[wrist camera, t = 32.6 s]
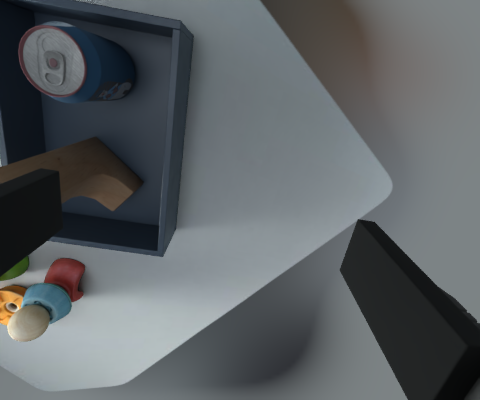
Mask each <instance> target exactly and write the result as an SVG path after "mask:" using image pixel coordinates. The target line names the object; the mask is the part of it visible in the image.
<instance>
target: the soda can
mask: <svg viewBox="0 0 480 400" xmlns="http://www.w3.org/2000/svg"><path fill="white" fill-rule="evenodd" d="M18 54H19V61H20V65H21V68H22V70H23V72H24V74H25V76H26V77H27V79H28V80H29V81H30V83H31V84H32V85H33V86H34V87H36V88H37V89H38V90H39V91H41V92H43V93H45V94H47V95H48V96H50V97H52V98H53V99H55V100H58V101H60V102H64V103H86V102H100V101H113V100H118V99H121V98H123V97H124V96H126V95H127V94H128V93H129V91H130V90H131V88H132V86H133V84H134V79H135V71H134V66H133V63H132V60H131V58H130V56H129V55H128V53H127V52H126V51H125V50H124V48H122V47H121V46H120V45H119V44H117V43H116V42H114V41H112V40H109V39H106V38H104V37H101V36H99V35H96V34H93V33H91V32H88V31H86V30H83V29H80V28H78V27H75V26H73V25H70V24H67V23H64V22H57V21H53V22H47V23H44V24H41V25H39V26H35V27H33V28H31V29H29V30H28V31H27V32H26V33H25V34H24V35H23V37H22V38H21V41H20V43H19V50H18Z"/></svg>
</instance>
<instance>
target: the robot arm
mask: <svg viewBox="0 0 480 400" xmlns="http://www.w3.org/2000/svg"><path fill="white" fill-rule="evenodd" d="M62 229H63V216H62V202H61V189H60V175H59V171H56V170H50V169H43V168H40V169H37V170H35V171H32V172H29V173H27V174H24V175H22V176H19V177H17V178H14V179H11V180H9V181H6V182H4V183H1V184H0V277H1V276H2V275H3V274H5V273H6V272H7V271H9V270H10V269H11V268H12V267H14V266H15V265H16V264H18V263H19V262H20V261H22V260H23V259H24V258H25V257H27V256H28V255H29V254H31V253H32V252H33V251H34V250H36V249H37V248H38V247H40V246H41V245H42V244H44V243H45V242H46V241H47V240H49V239H50V238H51V237H53V236H54V235H55V234H56V233H58V232H59V231H60V230H62ZM340 272H341V274H342V275H343V277H344V279H345V281H346V283H347V285H348V287H349V289H350V291H351V292H352V294H353V296H354V298H355V300H356V302H357V304H358V305H359V307H360V309H361V312H362V313H363V315H364V317H365V319H366V321H367V323H368V325H369V327H370V329H371V330H372V332H373V334H374V336H375V338H376V340H377V342H378V344H379V346H380V348H381V350H382V351H383V353H384V355H385V357H386V359H387V361H388V363H389V364H390V366H391V368H392V370H393V372H394V374H395V376H396V378H397V380H398V382H399V383H400V385H401V387H402V389H403V391H404V393H405V395H406V396H407V399H408V400H480V323H477V320H476V319H475V318H474V317H473V316H472V315H471V314H470V313H467V310H466V309H465V308H464V307H463V306H462V305H461V304H460V303H459V302H458V301H457V300H456V299H455V298H453V297H452V296H451V295H449V294H448V293H446V292H445V291H443V290H442V289H441V288H439V287H437V285H436V284H435V283H434V282H433V281H432V280H431V279H430V278H429V277H428V276H427V275H426V274H425V273H424V272H423V271H422V270H421V269H420V268H419V267H418V266H417V265H416V264H415V263H414V262H413V261H412V260H411V259H410V258H409V257H408V256H407V255H406V254H405V253H404V252H403V251H402V250H401V249H400V248H399V247H398V246H397V245H396V244H395V242H394V241H393V240H391V238H390V237H389V236H388V235H387V234H386V233H385V232H384V231H383V230H382V229H381V228H380V227H379V226H378V225H377V224H376V223H375V222H372V221H365V220H359V219H358V221H357V223H356V226H355V229H354V232H353V234H352V237H351V240H350V243H349V246H348V249H347V251H346V254H345V257H344V259H343V263H342V265H341V268H340Z"/></svg>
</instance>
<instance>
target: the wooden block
mask: <svg viewBox="0 0 480 400" xmlns="http://www.w3.org/2000/svg"><path fill="white" fill-rule="evenodd" d="M40 168H43V169H50V170H56V171H59V175H60V189H61V202H62V203H64V202H66V201H67V200H69V199H70V198H72V197H77V196H85V197H89V198H93V199H96V200H97V201H99V202H100V203H101V204H103V205H104V206H105V207H107V208H108V209H110V210H111V211H114V210H116V209H117V208H118V207H119V206H121V205H122V204H123V203H124V202H125V201H126V200H127V199H128V198H129V197H130V196H131V195H132V194H133V193H134V192H135V191H136V190H138V189H139V188H140V187H141V186H142V185H143V181H142V180H141V179H140V178H139V177H138V176H137V175H136V174H135V173H134V172H133V171H132V170H131V169H130V168H128V167H127V166H126V165H125V164H124V163H123V162H122V161H121V160H120V159H119V158H118V157H117V156H116V155H115V154H114V153H113V152H112V151H111V150H110V149H109V148H107V147H106V146H105V145H104V144H103V143H102V142H101V141H100V140H99V139H98V138H97V137H92V138H89V139H86V140H83V141H80V142H77V143H74V144H70V145H67V146H64V147H61V148H58V149H55V150H52V151H49V152H46V153H43V154H39V155H36V156H33V157H30V158H27V159H24V160H21V161H18V162H15V163H11V164H8V165H5V166H2V167H0V184H1V183H4V182H6V181H9V180H11V179H14V178H17V177H19V176H22V175H24V174H27V173H29V172H32V171H35V170H37V169H40Z"/></svg>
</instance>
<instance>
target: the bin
mask: <svg viewBox="0 0 480 400" xmlns="http://www.w3.org/2000/svg"><path fill="white" fill-rule="evenodd" d="M53 21H57V22H64V23H67V24H70V25H73V26H75V27H78V28H80V29H83V30H86V31H88V32H91V33H93V34H96V35H99V36H101V37H104V38H106V39H109V40H112V41H114V42H116V43H117V44H119V45H120V46H121V47H122V48H124V50H125V51H126V52H127V53H128V55H129V56H130V58H131V60H132V63H133V66H134V71H135V79H134V84H133V86H132V88H131V90H130V91H129V93H128V94H127V95H126V96H124V97H123V98H121V99H118V100H113V101H100V102H86V103H64V102H60V101H58V100H55V99H53V98H52V97H50V96H48V95H47V94H45V93H43V92H41V91H39V90H38V89H37V88H36V87H34V86H33V85H32V84H31V83H30V81H29V80H28V79H27V77H26V76H25V74H24V72H23V70H22V68H21V65H20V61H19V54H18V50H19V43H20V41H21V38H22V37H23V35H24V34H25V33H26V32H27V31H28V30H29V29H31V28H33V27H35V26H39V25H41V24H44V23H47V22H53ZM193 37H194V35H193V34H192V33H191V32H190V31H189V30H188V29H187V27H186V26H185V25H184V24H183V23H182V21H180V20H174V19H169V18H164V17H159V16H153V15H148V14H143V13H138V12H132V11H127V10H122V9H117V8H112V7H106V6H101V5H96V4H91V3H85V2H80V1H75V0H0V158H1V165H2V166H5V165H8V164H11V163H15V162H18V161H21V160H24V159H27V158H30V157H33V156H36V155H39V154H43V153H46V152H49V151H52V150H55V149H58V148H61V147H64V146H67V145H70V144H74V143H77V142H80V141H83V140H86V139H89V138H92V137H97V138H98V139H99V140H100V141H101V142H102V143H103V144H104V145H105V146H106V147H107V148H109V149H110V150H111V151H112V152H113V153H114V154H115V155H116V156H117V157H118V158H119V159H120V160H121V161H122V162H123V163H124V164H125V165H126V166H127V167H128V168H130V169H131V170H132V171H133V172H134V173H135V174H136V175H137V176H138V177H139V178H140V179H141V180H142V181H143V185H142V186H141V187H140V188H139V189H138V190H136V191H135V192H134V193H133V194H132V195H131V196H130V197H129V198H128V199H127V200H126V201H125V202H124V203H123V204H122V205H121V206H119V207H118V208H117V209H116V210H114V211H111V210H110V209H108V208H107V207H105V206H104V205H103V204H101V203H100V202H99V201H97V200H96V199H93V198H89V197H85V196H77V197H72V198H70V199H69V200H67V201H66V202H64V203H62V216H63V229H62V230H60V231H59V232H58V233H56V234H55V235H54V236H53V237H51V238H50V239H49V240H47V241H52V242H59V243H66V244H74V245H81V246H88V247H95V248H102V249H109V250H117V251H124V252H131V253H138V254H145V255H152V256H160V257H163V256H164V254H165V252H166V249H167V247H168V245H169V243H170V241H171V239H172V236H173V234H174V232H175V230H176V221H177V210H178V200H179V189H180V178H181V167H182V156H183V145H184V135H185V124H186V113H187V102H188V91H189V80H190V70H191V59H192V48H193Z"/></svg>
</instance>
